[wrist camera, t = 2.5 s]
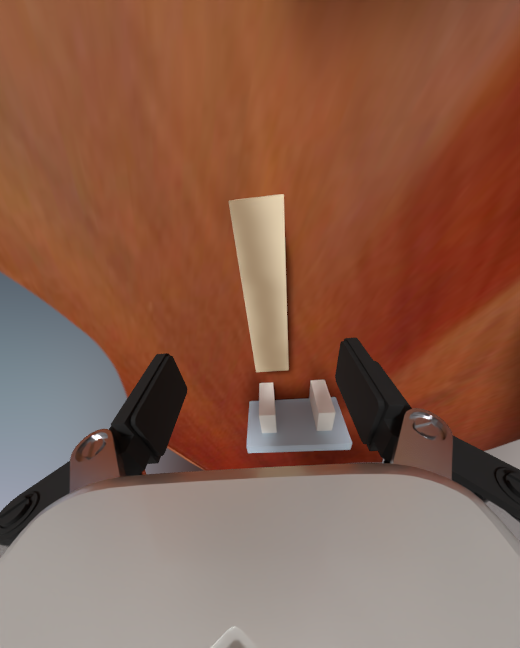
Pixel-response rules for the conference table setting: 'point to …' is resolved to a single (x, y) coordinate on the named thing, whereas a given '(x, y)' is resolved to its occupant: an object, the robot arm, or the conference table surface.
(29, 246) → the conference table surface
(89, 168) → the conference table surface
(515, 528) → the robot arm
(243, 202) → the rail
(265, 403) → the slotted stand base
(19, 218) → the conference table surface
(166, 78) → the conference table surface
